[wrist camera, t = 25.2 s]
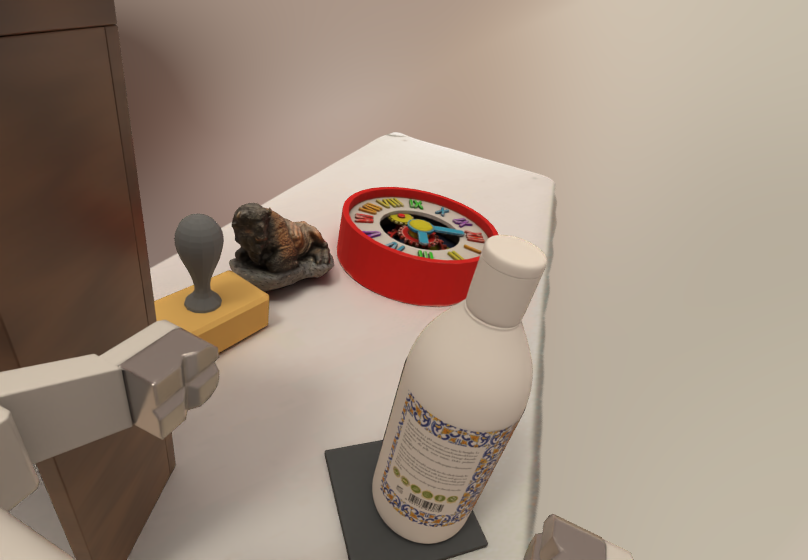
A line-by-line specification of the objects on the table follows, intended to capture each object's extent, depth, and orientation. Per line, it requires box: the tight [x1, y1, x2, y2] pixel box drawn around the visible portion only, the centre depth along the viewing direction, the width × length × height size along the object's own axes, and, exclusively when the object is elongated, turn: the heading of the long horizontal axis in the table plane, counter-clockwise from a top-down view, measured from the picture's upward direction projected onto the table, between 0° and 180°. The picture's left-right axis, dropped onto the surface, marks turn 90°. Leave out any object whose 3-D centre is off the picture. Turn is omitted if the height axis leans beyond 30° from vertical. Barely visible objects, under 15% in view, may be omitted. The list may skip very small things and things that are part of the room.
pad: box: [325, 440, 488, 560], centre depth 31 cm, size 9×9×1 cm
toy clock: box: [337, 187, 498, 306], centre depth 57 cm, size 20×6×20 cm
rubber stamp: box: [154, 214, 269, 353], centre depth 37 cm, size 10×6×12 cm, turn 147°
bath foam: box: [372, 235, 547, 544], centre depth 25 cm, size 7×7×20 cm
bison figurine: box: [229, 203, 334, 291], centre depth 46 cm, size 12×7×10 cm, turn 143°
